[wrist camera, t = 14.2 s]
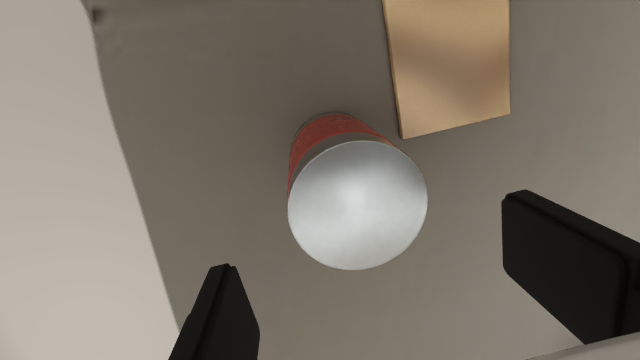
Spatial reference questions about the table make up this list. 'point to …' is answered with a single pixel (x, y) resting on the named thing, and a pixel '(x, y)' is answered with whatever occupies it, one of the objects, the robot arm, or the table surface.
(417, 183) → the tin can
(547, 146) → the table surface
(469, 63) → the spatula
